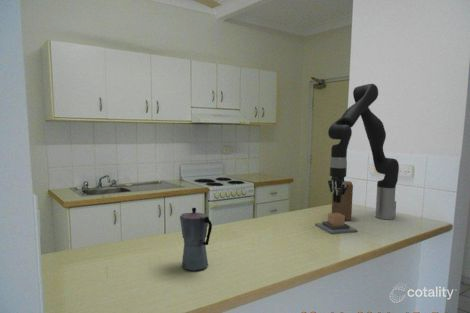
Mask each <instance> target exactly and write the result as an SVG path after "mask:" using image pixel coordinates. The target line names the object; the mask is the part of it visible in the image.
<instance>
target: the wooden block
mask: <svg viewBox="0 0 470 313" xmlns="http://www.w3.org/2000/svg"><path fill="white" fill-rule="evenodd" d="M344 181H345V182H344V183H345V184H348V187H347V189H346V191H345V194H344V195H341V202H340V203H336V202H333V193H332V192H331V193H332V194H331V197H332V199H331V213H340V214H342V215H344V216H345V222H347V221H348V222H350V221H352V217H353V216H352V213H353V212H352V211H353V197H354V196H353V194H354V193H353V191H354V190H353V189H354V185H353V182H352V181H350V180H349V181H348V180H344ZM339 189H340V188H339ZM339 191H340V190H339ZM342 192H343V191H342ZM338 193H339V192H338Z"/></svg>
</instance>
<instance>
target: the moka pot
mask: <svg viewBox="0 0 470 313" xmlns="http://www.w3.org/2000/svg"><path fill="white" fill-rule="evenodd" d="M191 211H192V212H184V213H182V214H181V215H180V216H179V219H180V228H181V235H182V238H183V252H182V261H181V262H182V263H181V268H182V269H184V270H187V271H200V270H204V269H206V268H207V267H208V266H209V263H208V255H207V254H208V253H207V249H206V248H207V247H206V246H208V245H209V243H210V242H209V241H210V238H211V233H212V228H213V225H212V221H211V220H210V219H209V215H207V214H206V213H202V212H197V208H196V207H192V208H191Z"/></svg>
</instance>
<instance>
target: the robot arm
mask: <svg viewBox="0 0 470 313" xmlns="http://www.w3.org/2000/svg"><path fill="white" fill-rule="evenodd" d="M352 96H353V100H354V103H353V104H352V105H350V106H349V107H348V108H347V109H346V110H345V111H344V112H343V114H342V116H341V117H339V118H338V119H337V120H336V121H335V122H333V123H332V124H331V125H330V126H329V129H328V133H327V134H328V137H329V138H330V139H332V140H339V143H337V144H333V145H331V150H330V152H331V153H330V161H329V162H330V164H329V176H330V177H331V178H330V180H327V183H328V188H329V191H330V193H333V202H336V203H340V202H341V195H344V194H345V191H346V189H347V187H348V184H345V183H344V182H345V181H346V180H345V178H346V177H347V169H348V162H347V156H348V155H347V154H348V153H347V152H348V147H349V145H350V141H351V138H352V136H353V135H352V134H353V132H352V127H353V126H354V125H355V124H356V122H357V121H358V119H359V118H360V117H361V120H362V122H363V126H364V130H365V133H366V137H367V140H368V142H369V147H370V150H371V154H372V160H373V166H374V169H375V171H376V172H377V173H378V174H381V175H384V176H383V179H380V180H378V181H377V182H376V183H377V184H376V202H375V218H377V219H380V220H393V219H396V215H397V214H396V212H397V201H396V189H397V188H396V187H397V183H398V178H399V171H400V165H399V161H398V159H396V158H393V157H392V158H391V157H386V155H385V153H384V144H385V142H386V138H387V137H386V136H387V132H386V130H385V127H384V123H383V122H382V120H381V119H380V118H379V117H378V116H377V115H375V114H374V112H372V110H371V109H370V106H371V105H372V104H373V103H374V102H376V100H377V99H378V96H379V88H378V86H377V85H376V84H374V83H367V84H362V85H360V86H356V87H354V88H353V91H352ZM339 188H340V189H339ZM339 190H340V191H339ZM342 191H343V192H342ZM338 192H339V193H338Z"/></svg>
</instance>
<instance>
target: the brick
mask: <svg viewBox="0 0 470 313" xmlns="http://www.w3.org/2000/svg"><path fill="white" fill-rule="evenodd" d="M327 221H328V224H330V225H332V226H343V225H344V223H345V222H346V221H345V216H344V215H342V214H340V213H332V212H331V213H328V215H327ZM345 224H346V223H345Z"/></svg>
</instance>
